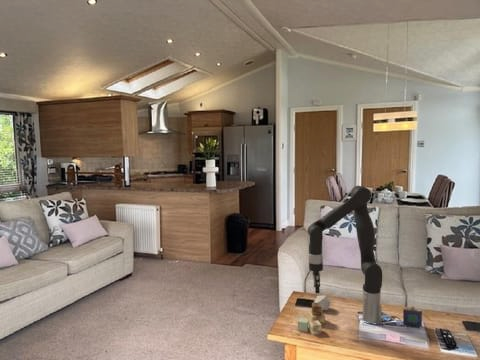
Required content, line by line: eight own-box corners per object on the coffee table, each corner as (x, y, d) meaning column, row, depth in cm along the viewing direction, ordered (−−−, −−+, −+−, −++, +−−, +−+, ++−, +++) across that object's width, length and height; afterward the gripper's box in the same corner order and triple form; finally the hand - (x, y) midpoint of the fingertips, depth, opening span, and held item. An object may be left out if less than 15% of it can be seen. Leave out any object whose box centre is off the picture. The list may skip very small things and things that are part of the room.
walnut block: (321, 311, 204) (321, 302, 203) (321, 315, 199) (321, 306, 198) (312, 311, 204) (312, 302, 204) (312, 315, 200) (312, 306, 199)
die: (327, 315, 211) (334, 299, 213) (313, 307, 212) (321, 291, 214) (324, 314, 219) (331, 298, 221) (310, 306, 220) (318, 291, 222)
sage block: (308, 327, 196) (308, 318, 196) (307, 331, 191) (307, 322, 191) (299, 326, 198) (299, 317, 197) (297, 330, 193) (297, 321, 192)
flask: (421, 325, 195) (421, 306, 194) (422, 328, 192) (422, 308, 191) (402, 323, 197) (402, 304, 196) (403, 326, 194) (403, 306, 193)
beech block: (318, 329, 194) (317, 320, 193) (321, 334, 189) (321, 324, 188) (309, 330, 193) (308, 321, 192) (312, 335, 188) (312, 325, 188)
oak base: (321, 319, 205) (321, 310, 205) (325, 325, 198) (324, 316, 198) (309, 319, 205) (309, 311, 204) (312, 325, 198) (312, 317, 197)
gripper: (324, 265, 191) (325, 295, 192) (321, 257, 205) (322, 285, 207) (309, 265, 192) (310, 295, 193) (307, 257, 206) (308, 285, 207)
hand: (316, 290), depth 200 cm, fingers open, 8 cm apart
